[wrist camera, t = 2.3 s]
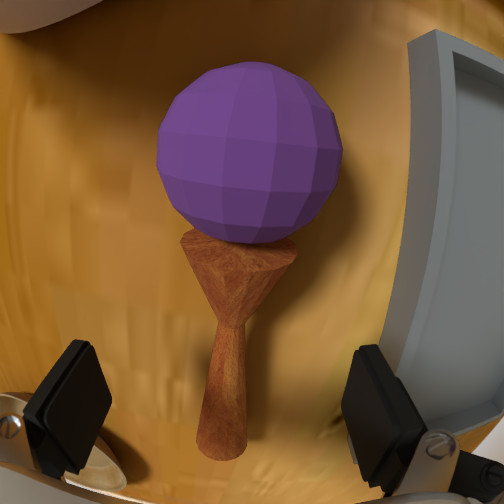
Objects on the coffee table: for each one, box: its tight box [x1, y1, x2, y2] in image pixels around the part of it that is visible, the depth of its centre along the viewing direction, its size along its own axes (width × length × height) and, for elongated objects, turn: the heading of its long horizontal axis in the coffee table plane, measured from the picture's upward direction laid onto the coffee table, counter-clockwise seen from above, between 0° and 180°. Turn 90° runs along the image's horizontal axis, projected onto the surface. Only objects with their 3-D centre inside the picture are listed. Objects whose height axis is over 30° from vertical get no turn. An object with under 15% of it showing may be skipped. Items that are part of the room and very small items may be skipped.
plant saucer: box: [0, 392, 127, 491], centre depth 19 cm, size 15×15×3 cm
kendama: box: [156, 62, 343, 461], centre depth 12 cm, size 6×6×20 cm
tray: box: [347, 29, 504, 464], centre depth 13 cm, size 26×16×3 cm, turn 0°
